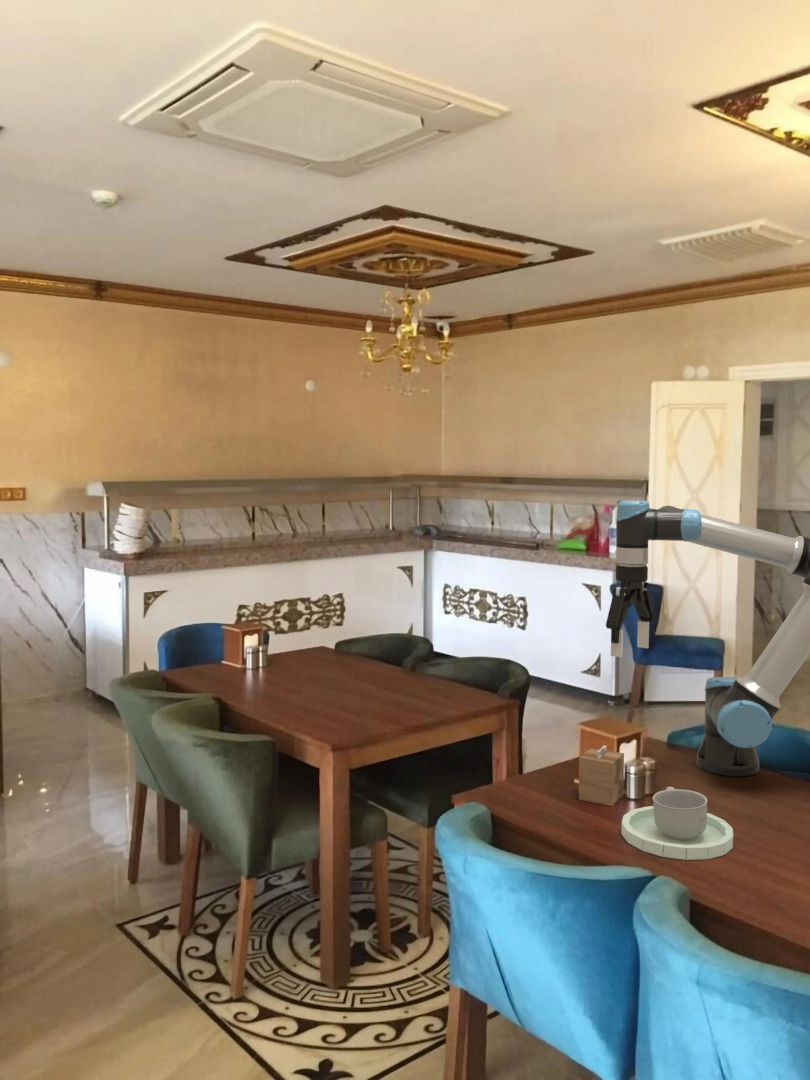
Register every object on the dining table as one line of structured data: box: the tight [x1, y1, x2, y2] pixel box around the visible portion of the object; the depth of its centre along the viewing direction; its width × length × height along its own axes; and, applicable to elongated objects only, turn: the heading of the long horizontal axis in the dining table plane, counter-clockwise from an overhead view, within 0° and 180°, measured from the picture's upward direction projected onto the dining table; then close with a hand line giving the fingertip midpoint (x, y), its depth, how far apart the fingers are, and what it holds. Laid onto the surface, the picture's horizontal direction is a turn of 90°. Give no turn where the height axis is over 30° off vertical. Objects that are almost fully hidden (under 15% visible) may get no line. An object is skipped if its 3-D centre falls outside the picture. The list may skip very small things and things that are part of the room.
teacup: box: [652, 786, 709, 840], centre depth 191 cm, size 14×11×8 cm
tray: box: [620, 805, 734, 861], centre depth 191 cm, size 22×22×2 cm
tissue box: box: [578, 745, 625, 807], centre depth 213 cm, size 8×8×12 cm
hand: (630, 652), depth 223 cm, fingers open, 13 cm apart
